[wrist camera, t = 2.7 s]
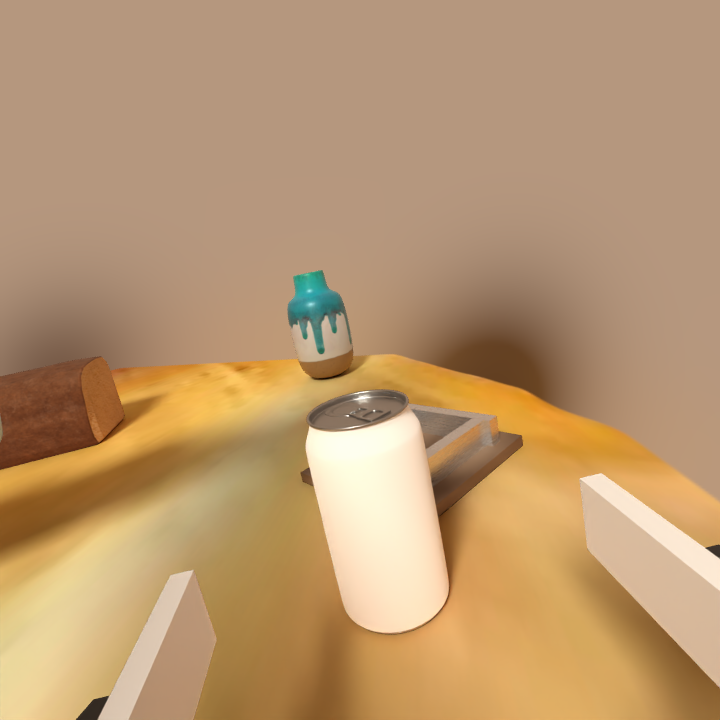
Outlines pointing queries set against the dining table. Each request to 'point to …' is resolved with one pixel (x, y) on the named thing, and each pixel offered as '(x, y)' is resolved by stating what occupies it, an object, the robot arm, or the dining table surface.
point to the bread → (56, 410)
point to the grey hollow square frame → (454, 437)
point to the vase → (319, 327)
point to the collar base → (463, 469)
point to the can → (378, 509)
